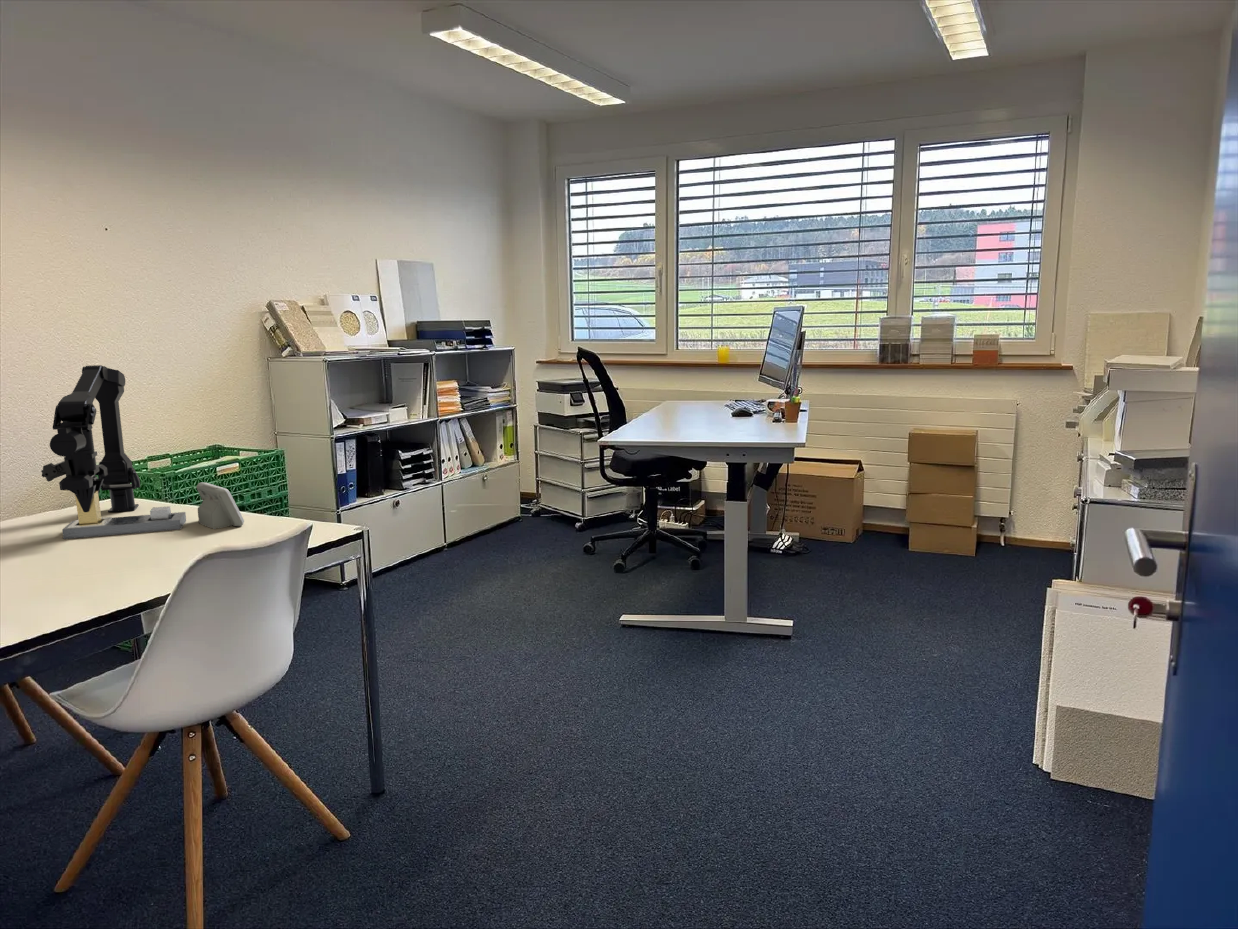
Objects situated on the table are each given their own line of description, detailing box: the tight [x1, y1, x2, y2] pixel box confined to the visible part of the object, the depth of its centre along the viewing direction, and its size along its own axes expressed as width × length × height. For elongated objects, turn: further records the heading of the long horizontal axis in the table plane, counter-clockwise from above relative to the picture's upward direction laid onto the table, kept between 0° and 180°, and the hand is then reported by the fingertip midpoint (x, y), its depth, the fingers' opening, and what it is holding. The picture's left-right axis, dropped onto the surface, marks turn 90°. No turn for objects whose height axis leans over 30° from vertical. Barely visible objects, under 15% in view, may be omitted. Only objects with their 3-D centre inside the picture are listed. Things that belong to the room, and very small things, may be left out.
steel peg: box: [149, 505, 172, 521], centre depth 211 cm, size 4×4×5 cm
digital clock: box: [196, 481, 245, 530], centre depth 213 cm, size 16×9×11 cm, turn 38°
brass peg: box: [74, 491, 102, 525], centre depth 205 cm, size 4×4×8 cm
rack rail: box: [62, 511, 187, 540], centre depth 208 cm, size 9×26×3 cm, turn 110°
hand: (88, 510), depth 205 cm, fingers closed on brass peg, 4 cm apart
